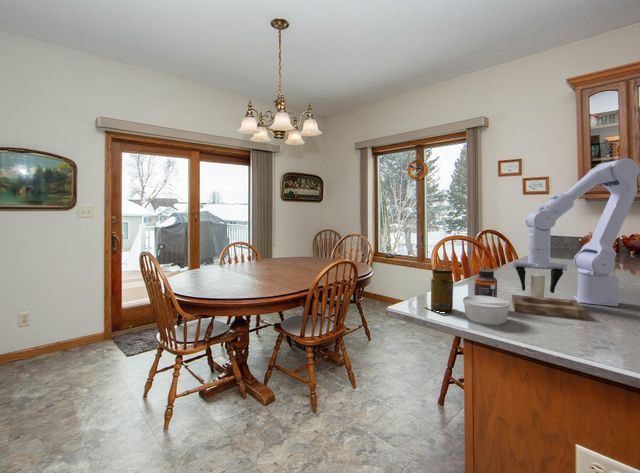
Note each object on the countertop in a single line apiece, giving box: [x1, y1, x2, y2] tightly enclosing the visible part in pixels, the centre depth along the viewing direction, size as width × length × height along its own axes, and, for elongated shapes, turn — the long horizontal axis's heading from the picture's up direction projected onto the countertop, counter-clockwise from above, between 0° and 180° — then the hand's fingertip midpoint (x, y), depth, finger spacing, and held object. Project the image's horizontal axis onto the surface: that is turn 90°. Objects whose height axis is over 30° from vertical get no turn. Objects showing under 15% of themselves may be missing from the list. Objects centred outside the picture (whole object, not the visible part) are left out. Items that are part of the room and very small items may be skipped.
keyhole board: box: [511, 294, 586, 320], centre depth 94 cm, size 16×11×2 cm
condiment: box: [430, 267, 465, 316], centre depth 95 cm, size 7×8×12 cm
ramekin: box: [462, 295, 511, 326], centre depth 87 cm, size 11×11×5 cm
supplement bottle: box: [474, 268, 498, 298], centre depth 97 cm, size 6×6×11 cm
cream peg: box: [530, 274, 546, 298], centre depth 105 cm, size 4×4×8 cm
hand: (537, 291), depth 105 cm, fingers open, 7 cm apart
